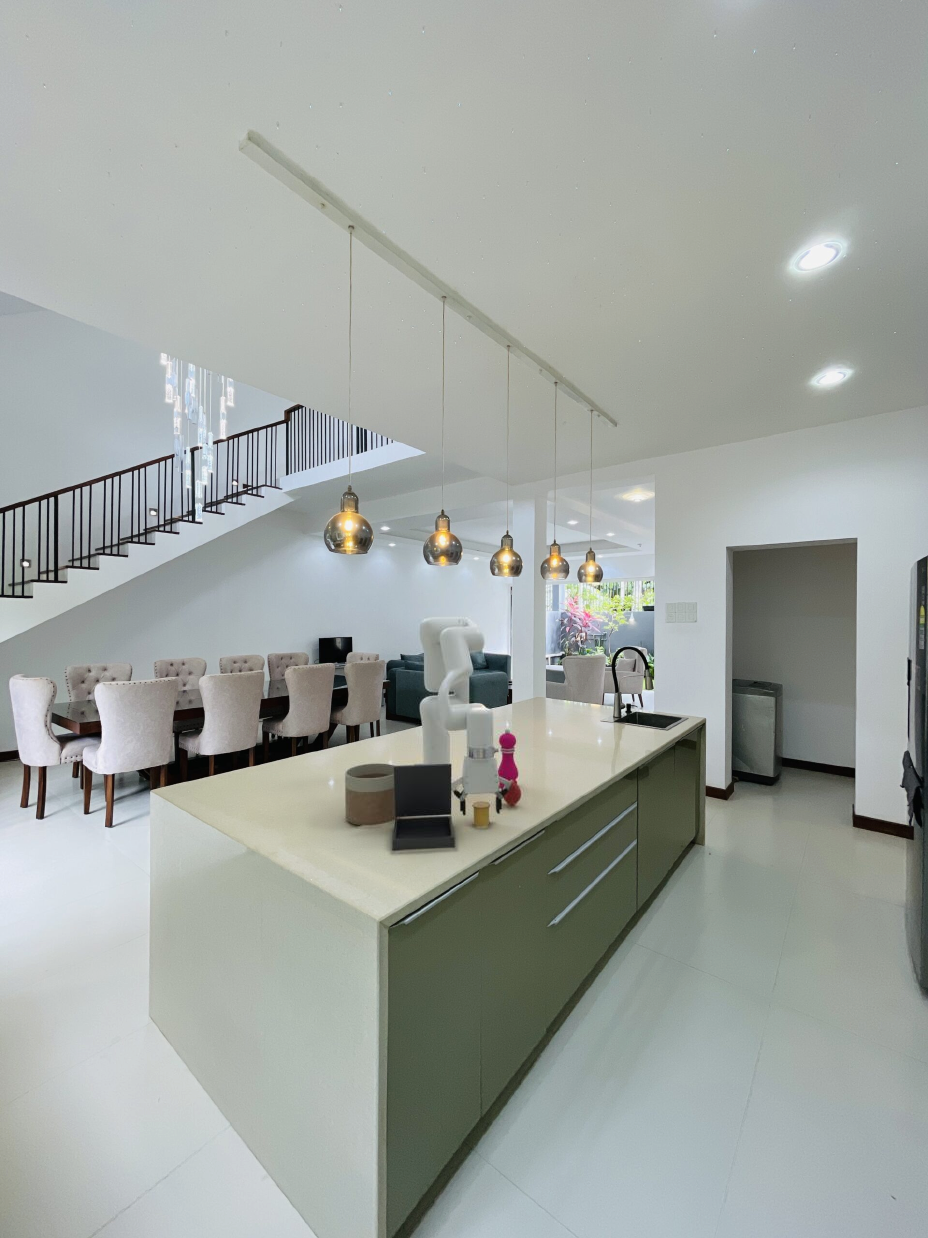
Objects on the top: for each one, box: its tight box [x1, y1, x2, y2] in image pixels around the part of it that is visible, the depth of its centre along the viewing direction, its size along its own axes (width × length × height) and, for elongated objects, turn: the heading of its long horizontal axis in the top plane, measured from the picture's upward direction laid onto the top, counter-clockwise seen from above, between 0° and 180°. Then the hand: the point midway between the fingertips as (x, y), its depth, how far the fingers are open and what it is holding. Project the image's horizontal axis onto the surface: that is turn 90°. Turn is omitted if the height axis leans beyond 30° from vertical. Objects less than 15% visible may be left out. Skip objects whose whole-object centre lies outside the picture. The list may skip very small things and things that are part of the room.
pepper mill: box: [498, 728, 519, 789], centre depth 179 cm, size 7×7×20 cm
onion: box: [503, 780, 522, 807], centre depth 160 cm, size 6×6×8 cm
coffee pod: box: [471, 801, 491, 827], centre depth 145 cm, size 5×5×6 cm
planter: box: [344, 762, 398, 826], centre depth 152 cm, size 16×16×14 cm
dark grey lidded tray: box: [391, 815, 456, 851], centre depth 136 cm, size 15×16×3 cm
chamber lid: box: [394, 763, 453, 818], centre depth 143 cm, size 16×16×5 cm
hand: (480, 812), depth 145 cm, fingers open, 9 cm apart
